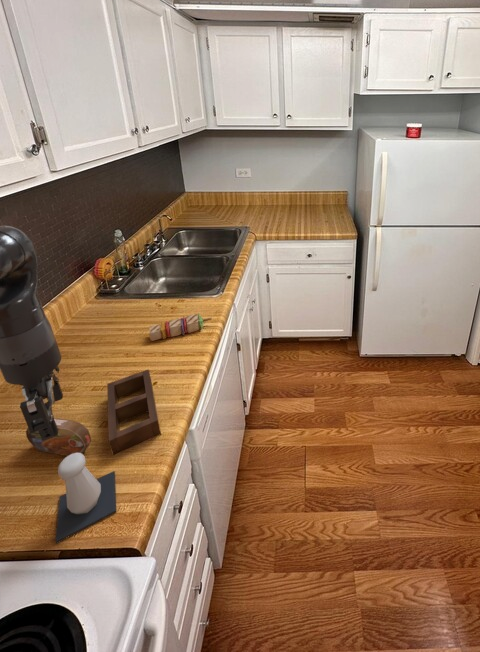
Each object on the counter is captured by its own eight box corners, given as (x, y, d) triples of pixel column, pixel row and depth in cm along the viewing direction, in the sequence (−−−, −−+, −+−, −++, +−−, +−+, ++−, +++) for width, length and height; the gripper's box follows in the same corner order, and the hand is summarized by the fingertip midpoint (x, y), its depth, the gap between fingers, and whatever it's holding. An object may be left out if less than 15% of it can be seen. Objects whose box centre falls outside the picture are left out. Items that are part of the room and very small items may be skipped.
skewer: (151, 345, 113) (148, 333, 111) (151, 334, 118) (148, 322, 116) (213, 329, 121) (212, 317, 119) (210, 319, 126) (209, 308, 125)
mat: (55, 543, 63) (55, 542, 62) (60, 498, 70) (59, 496, 70) (116, 512, 67) (115, 510, 67) (114, 472, 75) (114, 470, 74)
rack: (113, 455, 78) (108, 441, 76) (111, 397, 93) (107, 383, 91) (160, 434, 83) (157, 420, 81) (151, 382, 98) (148, 369, 96)
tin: (30, 450, 79) (19, 425, 76) (42, 437, 82) (32, 413, 79) (87, 459, 77) (78, 434, 74) (97, 446, 80) (88, 421, 77)
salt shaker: (89, 483, 72) (73, 442, 67) (110, 492, 70) (95, 451, 65) (63, 513, 67) (43, 471, 62) (84, 524, 65) (66, 481, 60)
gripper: (6, 329, 58) (34, 397, 64) (-17, 385, 47) (19, 462, 53) (59, 316, 62) (80, 382, 68) (49, 365, 50) (76, 439, 56)
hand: (53, 417), depth 60 cm, fingers open, 8 cm apart
